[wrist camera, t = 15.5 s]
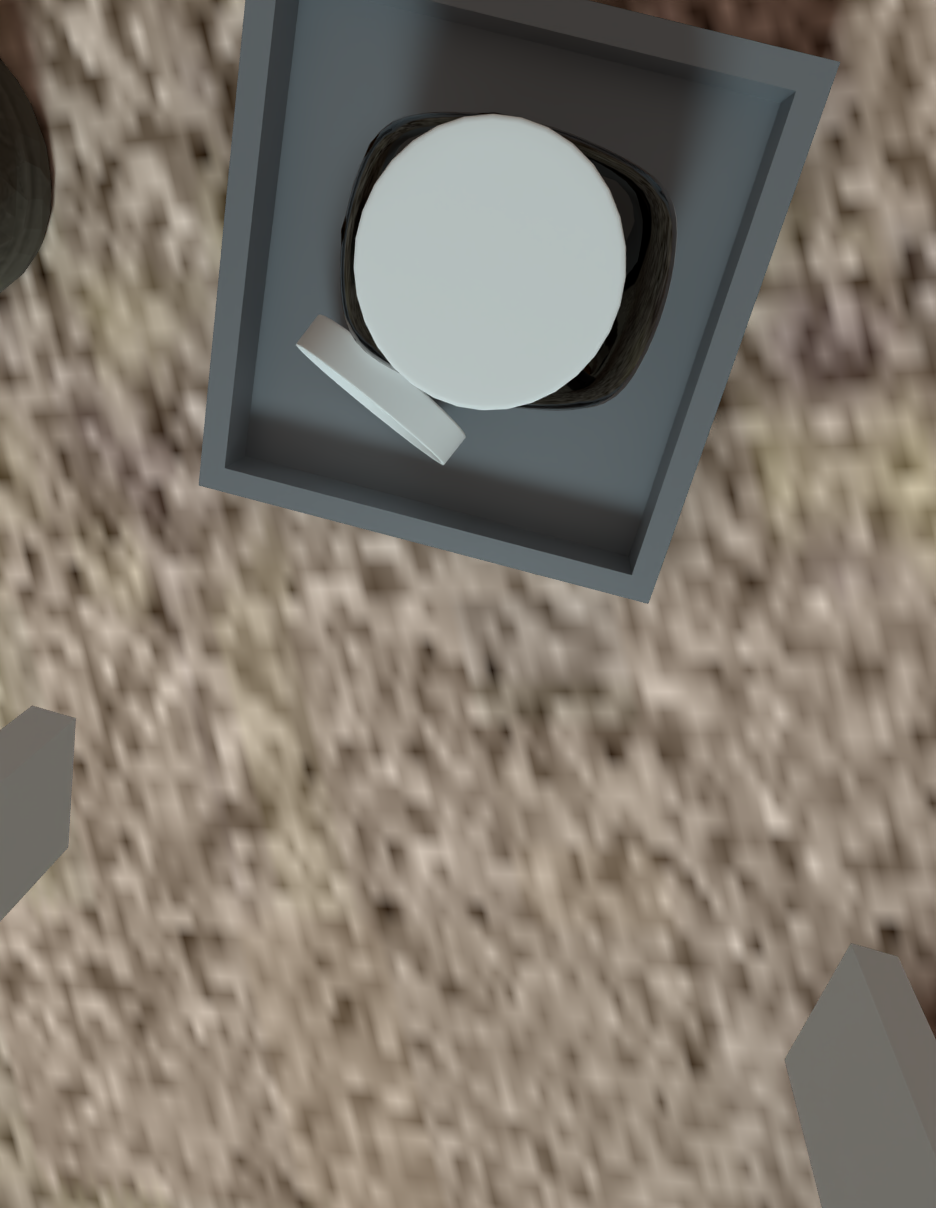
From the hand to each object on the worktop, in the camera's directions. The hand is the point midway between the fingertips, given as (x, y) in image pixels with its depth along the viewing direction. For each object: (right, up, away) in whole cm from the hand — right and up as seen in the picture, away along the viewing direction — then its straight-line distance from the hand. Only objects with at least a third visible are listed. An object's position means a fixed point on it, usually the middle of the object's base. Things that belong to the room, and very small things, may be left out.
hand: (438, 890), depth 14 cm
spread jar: (+1, +16, +18) cm, 24 cm away
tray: (+1, +17, +19) cm, 25 cm away
